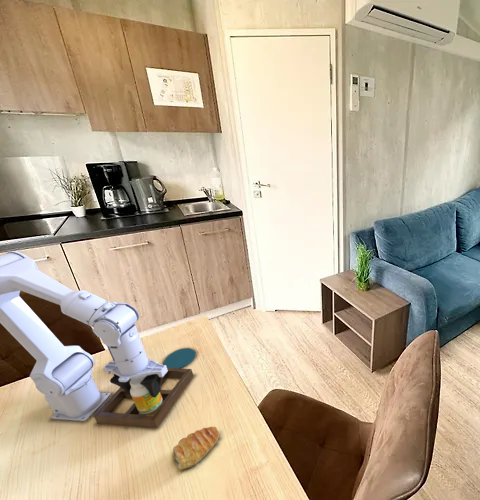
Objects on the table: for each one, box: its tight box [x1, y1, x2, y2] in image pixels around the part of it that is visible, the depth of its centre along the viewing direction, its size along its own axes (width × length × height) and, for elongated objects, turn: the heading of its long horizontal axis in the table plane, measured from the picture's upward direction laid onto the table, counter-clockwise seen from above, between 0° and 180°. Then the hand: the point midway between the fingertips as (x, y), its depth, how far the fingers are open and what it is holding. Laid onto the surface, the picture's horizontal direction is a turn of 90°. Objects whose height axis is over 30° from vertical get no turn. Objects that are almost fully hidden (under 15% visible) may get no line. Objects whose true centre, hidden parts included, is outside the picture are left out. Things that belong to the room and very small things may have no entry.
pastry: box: [172, 426, 220, 470], centre depth 66 cm, size 9×7×4 cm
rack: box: [92, 367, 194, 429], centre depth 78 cm, size 16×16×3 cm
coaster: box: [163, 347, 196, 369], centre depth 92 cm, size 9×9×1 cm
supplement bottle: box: [130, 376, 163, 415], centre depth 72 cm, size 5×5×10 cm
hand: (145, 393), depth 72 cm, fingers closed on supplement bottle, 5 cm apart
